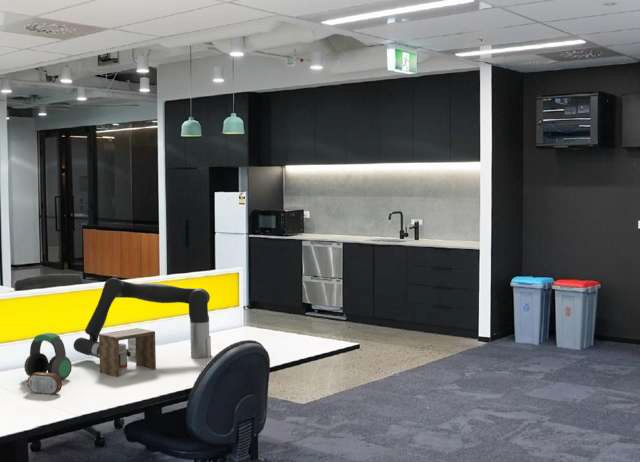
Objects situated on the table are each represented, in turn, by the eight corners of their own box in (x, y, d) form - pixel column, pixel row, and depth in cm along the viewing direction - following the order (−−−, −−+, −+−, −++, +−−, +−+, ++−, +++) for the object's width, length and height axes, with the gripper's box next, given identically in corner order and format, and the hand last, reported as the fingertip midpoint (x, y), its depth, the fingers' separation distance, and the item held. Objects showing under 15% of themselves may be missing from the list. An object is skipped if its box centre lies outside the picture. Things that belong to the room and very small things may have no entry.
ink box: (147, 356, 397) (146, 332, 397) (139, 358, 393) (139, 334, 392) (135, 354, 402) (134, 331, 401) (127, 356, 398) (127, 332, 397)
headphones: (74, 378, 351) (72, 332, 350) (56, 383, 341) (54, 337, 340) (41, 374, 359) (39, 330, 358) (22, 380, 349) (21, 334, 348)
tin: (62, 393, 323) (62, 373, 323) (57, 395, 320) (57, 374, 320) (31, 391, 328) (31, 371, 328) (26, 393, 325) (26, 372, 325)
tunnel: (100, 372, 361) (98, 334, 360) (138, 365, 376) (137, 328, 375) (117, 377, 352) (116, 337, 351) (155, 369, 367) (154, 331, 366)
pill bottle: (110, 369, 368) (110, 344, 367) (122, 366, 372) (121, 342, 372) (119, 371, 364) (118, 346, 363) (130, 368, 368) (129, 344, 368)
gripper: (89, 345, 372) (109, 349, 361) (116, 340, 383) (136, 345, 371) (89, 361, 372) (109, 366, 361) (116, 356, 383) (136, 361, 371)
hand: (123, 355), depth 366 cm, fingers closed on pill bottle, 6 cm apart
